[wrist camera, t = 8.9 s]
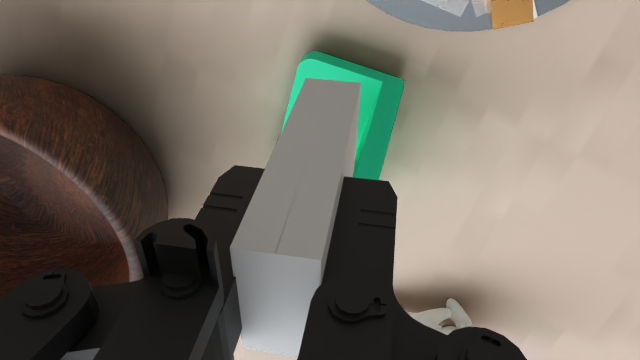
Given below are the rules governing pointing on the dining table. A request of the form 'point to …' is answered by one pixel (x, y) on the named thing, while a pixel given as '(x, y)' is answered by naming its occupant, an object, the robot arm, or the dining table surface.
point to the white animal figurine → (444, 317)
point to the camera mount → (374, 105)
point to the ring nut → (492, 10)
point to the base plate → (449, 14)
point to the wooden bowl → (71, 186)
